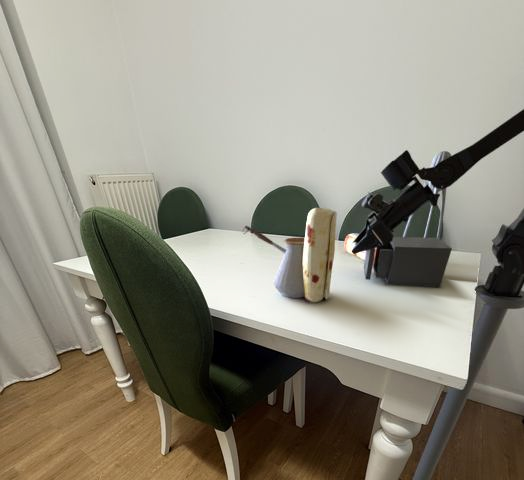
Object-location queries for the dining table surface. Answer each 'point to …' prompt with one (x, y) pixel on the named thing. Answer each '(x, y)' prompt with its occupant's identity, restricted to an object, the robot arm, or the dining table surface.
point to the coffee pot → (288, 266)
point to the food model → (318, 253)
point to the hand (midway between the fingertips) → (352, 248)
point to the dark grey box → (418, 261)
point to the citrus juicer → (436, 160)
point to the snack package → (348, 246)
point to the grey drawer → (378, 261)
